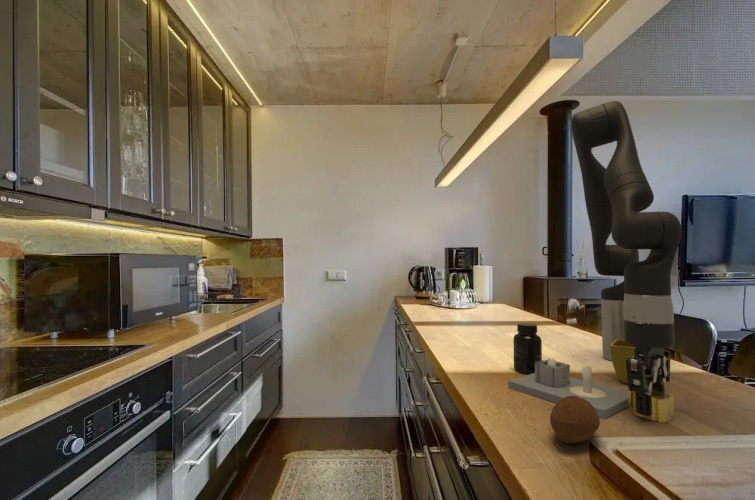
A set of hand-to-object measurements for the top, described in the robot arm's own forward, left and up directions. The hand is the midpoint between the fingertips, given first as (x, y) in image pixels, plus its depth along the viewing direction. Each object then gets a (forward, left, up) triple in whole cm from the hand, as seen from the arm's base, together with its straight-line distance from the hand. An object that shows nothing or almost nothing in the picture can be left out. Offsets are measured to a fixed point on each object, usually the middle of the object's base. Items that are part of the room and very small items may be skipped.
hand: (650, 410), depth 67 cm
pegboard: (+2, -14, -1) cm, 14 cm away
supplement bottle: (-6, -29, -1) cm, 30 cm away
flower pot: (-18, -9, -1) cm, 20 cm away
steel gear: (+2, -18, +1) cm, 18 cm away
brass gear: (0, 0, -1) cm, 1 cm away
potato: (+21, -3, -1) cm, 21 cm away
